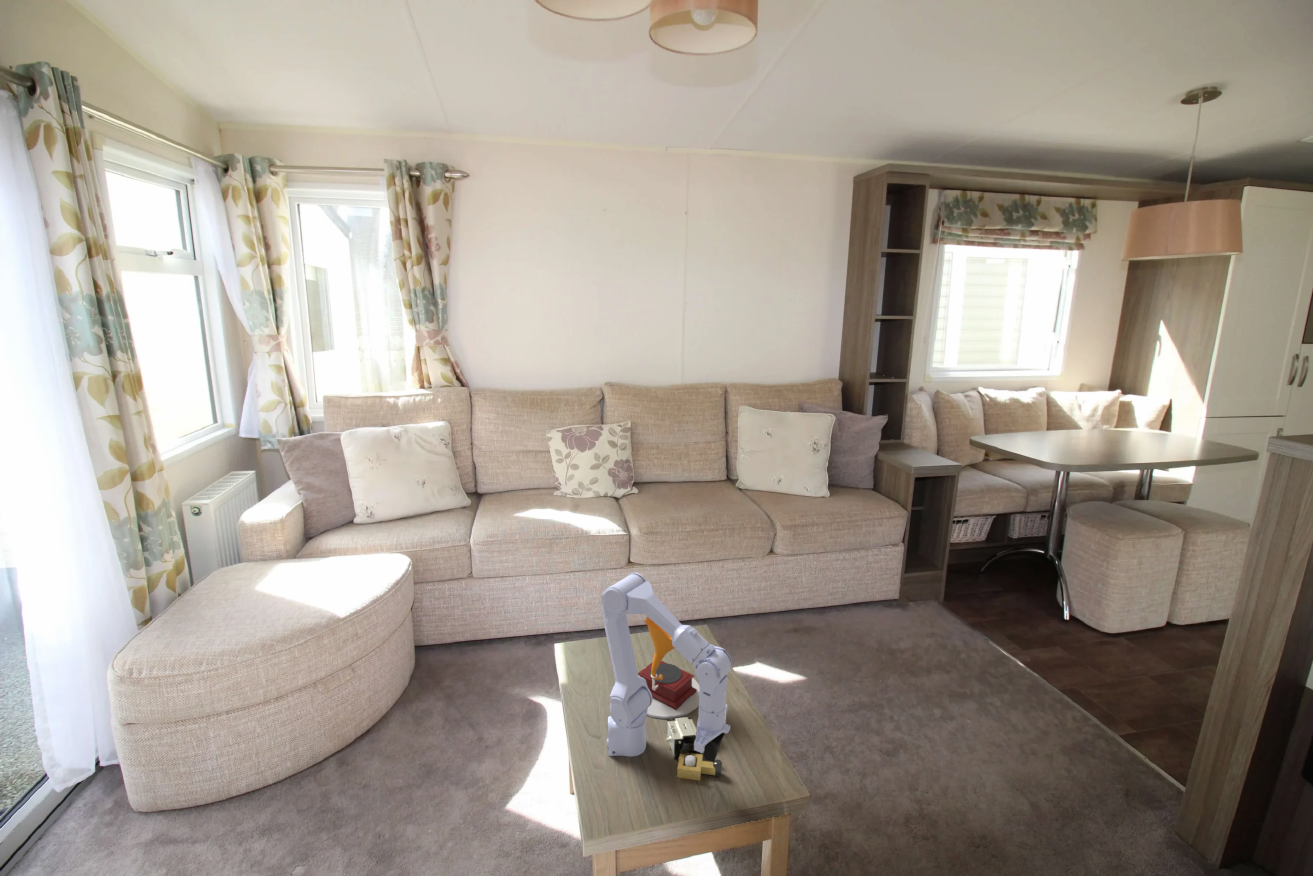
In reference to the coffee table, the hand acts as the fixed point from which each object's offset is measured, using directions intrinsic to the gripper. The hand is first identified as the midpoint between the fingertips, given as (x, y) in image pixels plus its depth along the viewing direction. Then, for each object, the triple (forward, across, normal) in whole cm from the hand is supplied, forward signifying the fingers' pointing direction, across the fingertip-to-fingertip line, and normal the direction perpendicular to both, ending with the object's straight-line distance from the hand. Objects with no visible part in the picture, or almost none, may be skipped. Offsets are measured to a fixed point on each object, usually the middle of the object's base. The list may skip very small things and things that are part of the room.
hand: (710, 758), depth 132 cm
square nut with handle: (+7, +3, +3) cm, 8 cm away
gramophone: (+9, +24, +23) cm, 34 cm away
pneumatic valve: (+5, +14, +4) cm, 16 cm away
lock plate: (+8, +2, +6) cm, 10 cm away
